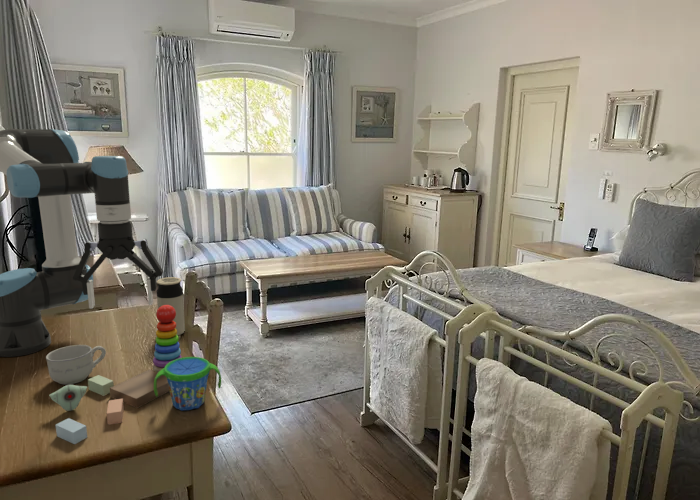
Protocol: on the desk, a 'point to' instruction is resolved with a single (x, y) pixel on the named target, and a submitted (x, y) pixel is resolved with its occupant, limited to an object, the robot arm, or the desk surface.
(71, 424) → the brick blue
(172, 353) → the stacking toy
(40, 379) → the desk surface
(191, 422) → the desk surface
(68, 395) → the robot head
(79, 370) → the teacup
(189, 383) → the snack cup
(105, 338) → the desk surface
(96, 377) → the brick sage
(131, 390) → the plinth
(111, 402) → the brick terracotta
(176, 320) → the travel mug
